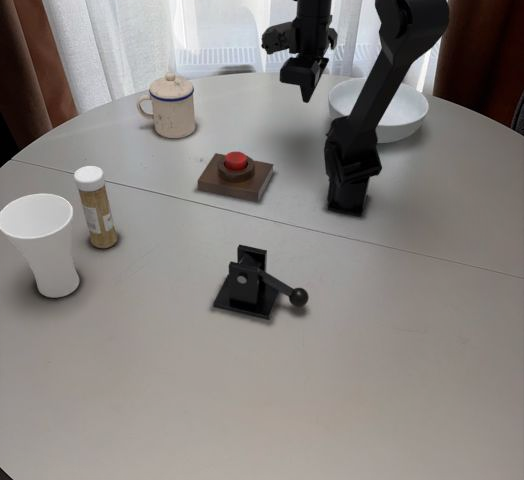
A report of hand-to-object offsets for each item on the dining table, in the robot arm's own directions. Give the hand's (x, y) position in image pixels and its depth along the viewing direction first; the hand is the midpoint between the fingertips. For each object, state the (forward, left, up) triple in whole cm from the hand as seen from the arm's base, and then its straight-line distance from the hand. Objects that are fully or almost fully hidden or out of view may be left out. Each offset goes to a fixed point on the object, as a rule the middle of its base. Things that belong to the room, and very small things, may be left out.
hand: (306, 101), depth 109 cm
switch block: (+10, +12, -12) cm, 20 cm away
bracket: (-2, +42, -12) cm, 44 cm away
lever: (-5, +42, -8) cm, 43 cm away
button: (+10, +12, -8) cm, 18 cm away
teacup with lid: (+30, -2, -12) cm, 32 cm away
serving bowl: (-12, -16, -12) cm, 23 cm away
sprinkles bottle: (+26, +36, -12) cm, 46 cm away
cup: (+28, +48, -12) cm, 57 cm away
